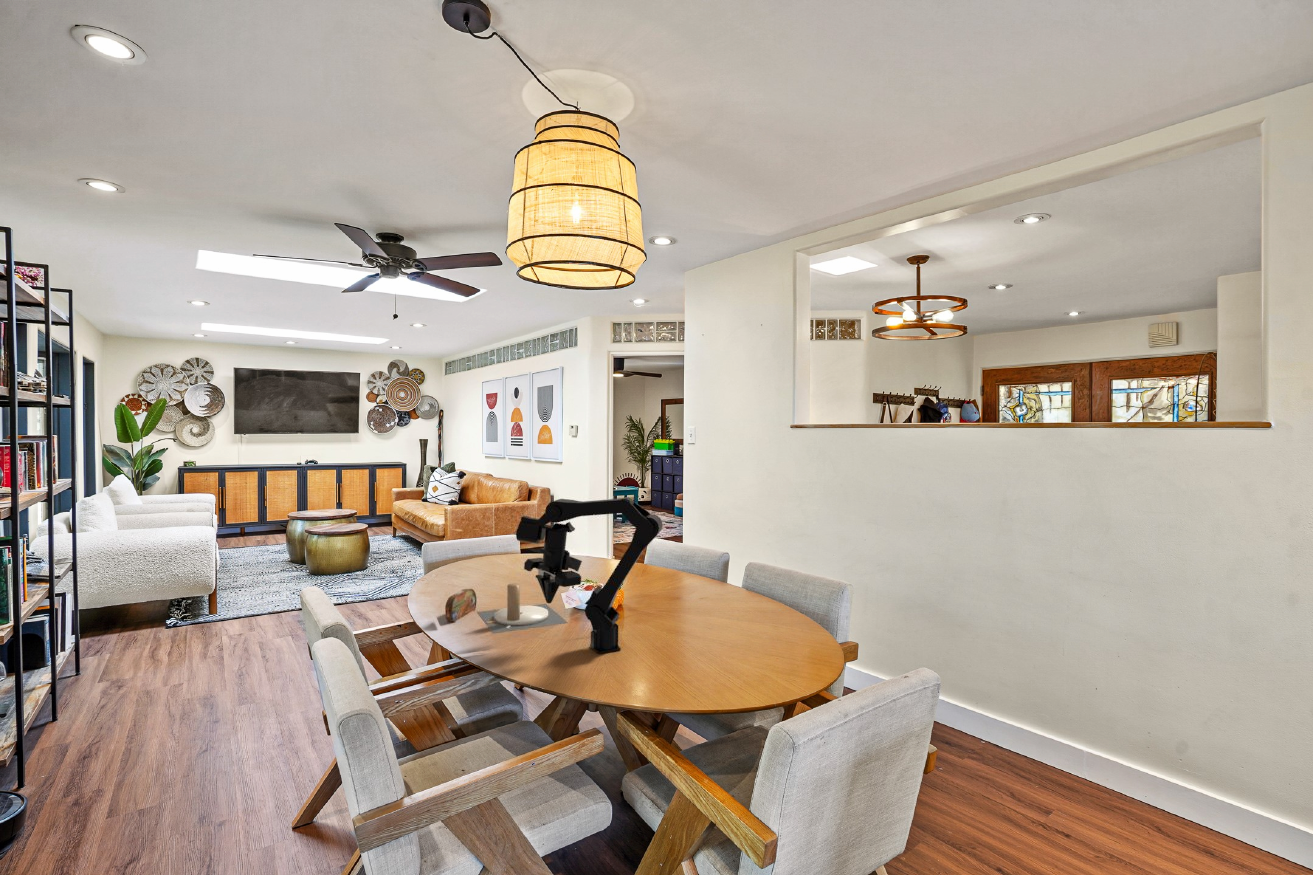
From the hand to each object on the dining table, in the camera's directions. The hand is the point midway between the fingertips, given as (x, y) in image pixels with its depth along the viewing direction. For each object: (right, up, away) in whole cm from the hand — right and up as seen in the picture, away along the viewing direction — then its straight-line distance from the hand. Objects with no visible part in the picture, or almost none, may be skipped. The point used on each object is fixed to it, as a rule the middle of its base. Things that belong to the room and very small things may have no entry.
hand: (548, 602), depth 171 cm
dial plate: (-12, -11, +20) cm, 26 cm away
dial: (-12, -10, +20) cm, 25 cm away
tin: (-30, -11, +21) cm, 39 cm away
